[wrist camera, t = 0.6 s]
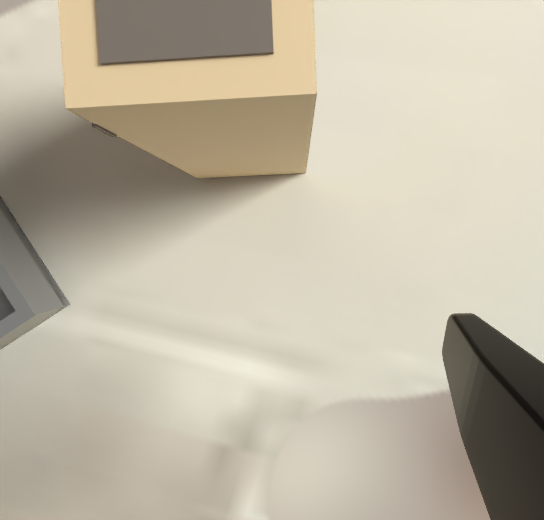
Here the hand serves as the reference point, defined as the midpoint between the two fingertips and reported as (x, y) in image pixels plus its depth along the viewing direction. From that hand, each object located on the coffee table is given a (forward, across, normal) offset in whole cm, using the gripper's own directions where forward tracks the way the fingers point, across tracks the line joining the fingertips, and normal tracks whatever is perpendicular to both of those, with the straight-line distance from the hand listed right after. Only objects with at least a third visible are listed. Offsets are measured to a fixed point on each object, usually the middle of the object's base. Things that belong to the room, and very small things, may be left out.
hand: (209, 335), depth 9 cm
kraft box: (+15, 0, 0) cm, 15 cm away
